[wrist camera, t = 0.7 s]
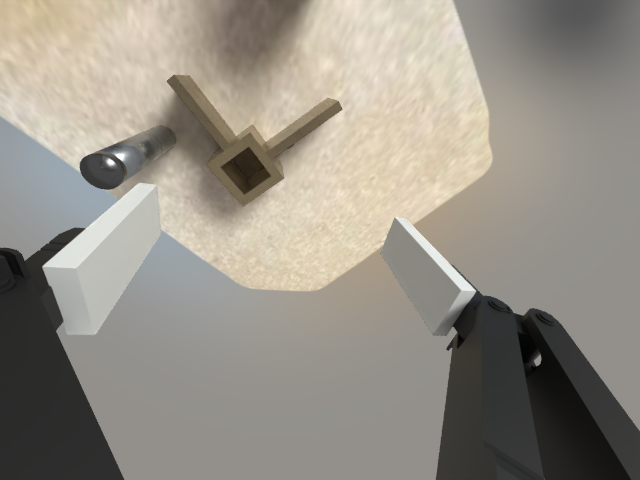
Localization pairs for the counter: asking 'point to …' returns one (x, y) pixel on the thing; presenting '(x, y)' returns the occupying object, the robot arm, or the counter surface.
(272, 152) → the hinge
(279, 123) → the counter surface
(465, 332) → the robot arm
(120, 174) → the pin
